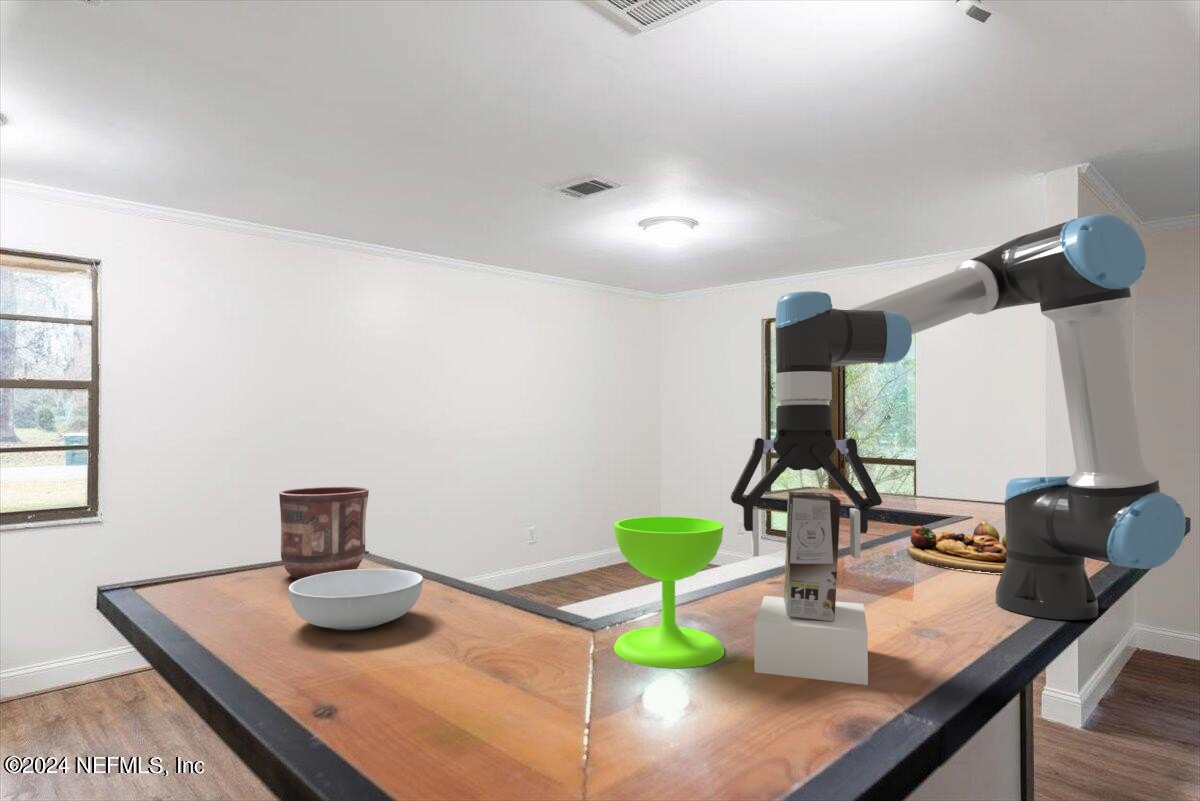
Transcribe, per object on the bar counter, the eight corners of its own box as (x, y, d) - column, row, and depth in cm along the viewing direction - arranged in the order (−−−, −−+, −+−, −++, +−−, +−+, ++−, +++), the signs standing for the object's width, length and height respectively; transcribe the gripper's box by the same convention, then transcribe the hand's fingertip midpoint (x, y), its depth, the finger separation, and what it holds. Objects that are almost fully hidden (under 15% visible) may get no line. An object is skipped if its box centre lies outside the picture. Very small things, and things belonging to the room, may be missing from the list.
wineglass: (650, 676, 91) (650, 537, 91) (594, 641, 105) (594, 520, 106) (747, 656, 98) (747, 527, 99) (683, 626, 113) (683, 513, 113)
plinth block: (863, 652, 101) (863, 603, 101) (868, 688, 88) (867, 632, 88) (764, 642, 106) (764, 595, 106) (754, 675, 92) (754, 621, 93)
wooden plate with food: (888, 563, 162) (889, 527, 162) (927, 543, 186) (927, 511, 186) (1052, 588, 141) (1052, 547, 141) (1071, 561, 166) (1071, 526, 166)
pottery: (349, 584, 140) (350, 494, 141) (262, 584, 141) (264, 494, 141) (378, 566, 158) (379, 486, 159) (301, 566, 158) (302, 486, 159)
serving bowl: (448, 613, 120) (448, 573, 120) (359, 651, 101) (359, 603, 101) (356, 600, 129) (356, 562, 129) (257, 632, 110) (258, 588, 110)
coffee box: (836, 622, 92) (841, 499, 92) (786, 617, 94) (791, 496, 94) (828, 604, 101) (833, 492, 101) (782, 599, 102) (787, 489, 103)
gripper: (888, 403, 101) (890, 552, 100) (712, 404, 104) (713, 548, 103) (904, 402, 93) (906, 563, 93) (714, 403, 96) (715, 558, 96)
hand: (804, 555), depth 98 cm, fingers open, 13 cm apart
